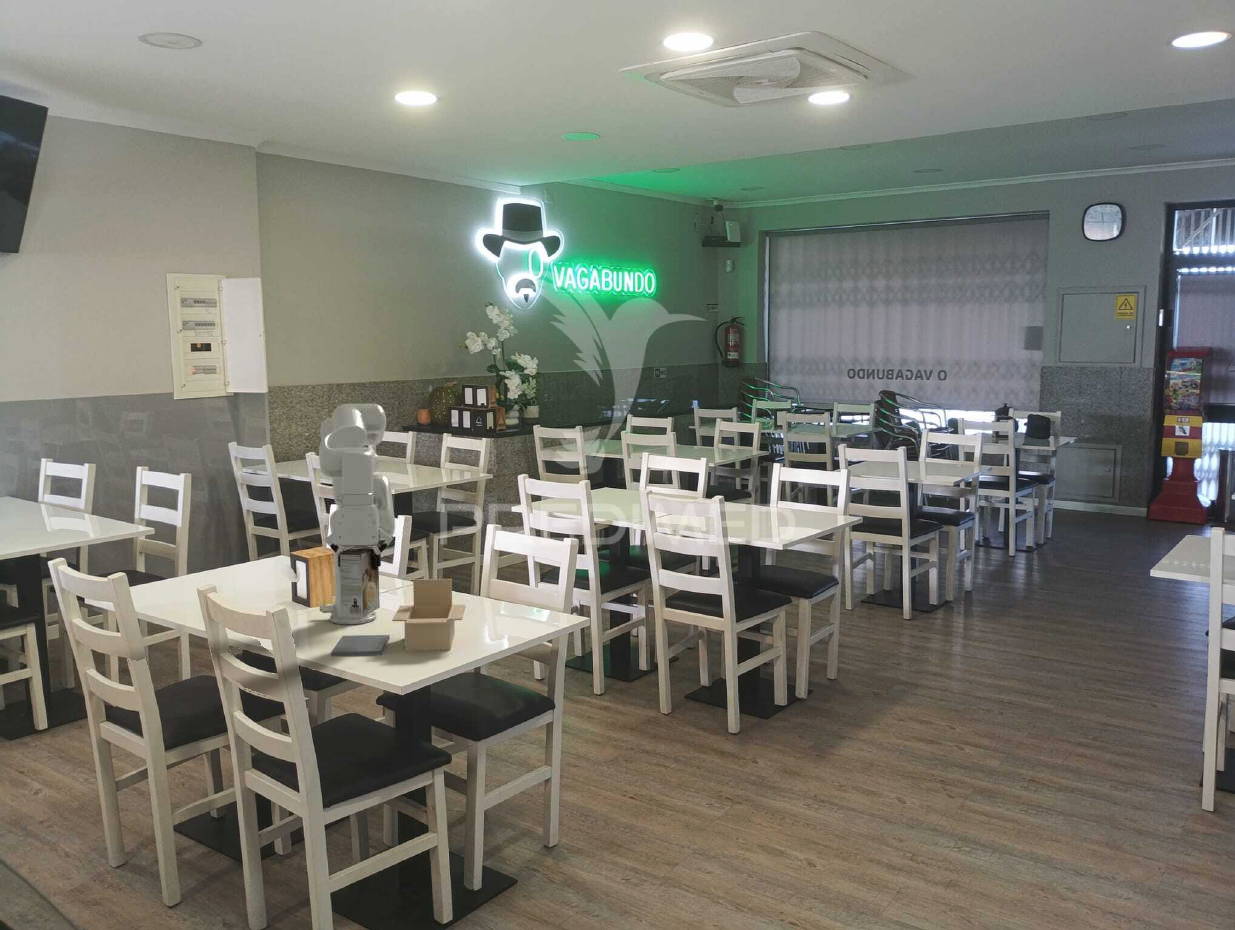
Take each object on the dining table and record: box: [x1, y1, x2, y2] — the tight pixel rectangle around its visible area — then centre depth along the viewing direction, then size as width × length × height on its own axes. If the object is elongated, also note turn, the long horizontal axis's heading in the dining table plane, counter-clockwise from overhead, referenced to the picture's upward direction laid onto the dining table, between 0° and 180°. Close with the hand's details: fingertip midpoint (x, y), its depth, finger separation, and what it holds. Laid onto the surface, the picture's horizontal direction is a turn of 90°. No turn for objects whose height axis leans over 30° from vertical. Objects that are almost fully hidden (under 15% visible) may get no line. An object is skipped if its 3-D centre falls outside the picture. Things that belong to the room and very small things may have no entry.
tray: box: [331, 634, 391, 657], centre depth 239 cm, size 12×14×1 cm
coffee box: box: [339, 546, 381, 617], centre depth 237 cm, size 9×6×16 cm
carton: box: [392, 578, 467, 652], centre depth 241 cm, size 17×17×15 cm
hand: (359, 569), depth 237 cm, fingers closed on coffee box, 7 cm apart
